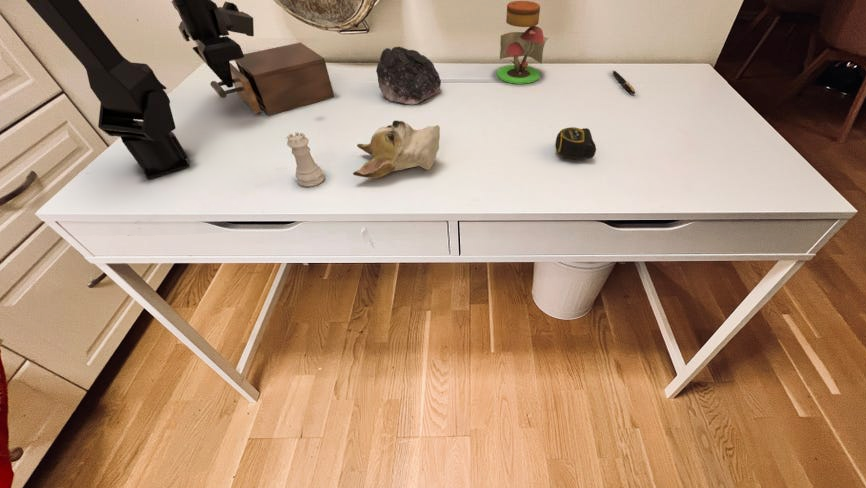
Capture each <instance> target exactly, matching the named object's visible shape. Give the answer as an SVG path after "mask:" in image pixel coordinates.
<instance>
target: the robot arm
mask: <svg viewBox="0 0 866 488" xmlns="http://www.w3.org/2000/svg"><path fill="white" fill-rule="evenodd" d="M25 1H26V2H27V4H28V5H30V7H31V8H32V9H33V10H34V12H35V13H36V14H37V15H38V16H39V17H40V18H41V19H42V21H44V23H45V24H46V25H47V26H48V27H49V28H50V30H51V31H52V32H53V33H54V34H55V35H56V36H57V37H58V39H59V40H60V41H61V42H62V43H63V44H64V45H65V46H66V48H67V49H68V50H69V51H70V52H71V53H72V54H73V56H74V57H75V58H76V59H77V60H78V61H79V63H80V64H81V65H82V66H83V67H84V69H85V72H86V75H87V80H88V83H89V88H90V89H91V91H92V92H93V94H94V95H95V96H96V98H97V99H98V101H99V102H100V107H99V116H98V122H97V123H98V125H97V126H98V128H99V129H100V130H101V131H102V132H103V133H105V134H107V135H108V136H109V137H119V138H120V139H121V142H122V143H123V145H124V146H125V147H126V149H127V150H128V152H129V153H130V154H131V156H132V157H133V159H134V160H135V161H136V163H137V165H139V167H140V169H141V170H142V173H143V175H144V177H145V178H146V179H147V180H152V179H155V178H158V177H161V176H165V175H167V174H171V173H174V172H177V171H180V170H183V169H187V168H189V167H190V164H189V162H188V159H189V156H188V154H187V152H186V150H185V149H184V148H183V146H182V145H181V143H180V141H179V140H178V138H177V136H176V134H175V133H174V130H176V128H177V127H176V124H175V120H174V116H173V113H172V112H173V111H172V108H171V105H170V104H171V100H170V97H169V96H168V94H167V92H166V91H165V90H167V87H166V86H165V85H164V84H162V82H161V81H160V79H158V77H157V76H156V74H155V72H154V71H153V69H152V68H151V67H150V66H149V64H147V63H140V62H131V61H129V60H128V59H127V58H126V57H124V56H123V55H122V53H120V51H119V50H118V49H117V47H116V46H115V45H114V43H113V42H112V41H111V39H110V38H109V37H108V36H107V34H106V33H105V32H104V30H103V29H102V28H101V26H99V24H98V22H96V20H95V19H94V18H93V16H92V15H91V14H90V12H89V11H88V10H87V9H86V8H85V6H84V5H83V4H82V3H81V1H80V0H25ZM171 4H172V6H173V8H174V9H175V10H176V11H177V13H178V15H179V17H180V19H181V21H180V23H179V25H178V30H179V32H180V34H181V36H182V38H183V40H184V41H185V42H190V39H191V40H192V41H193V42H194V43H195V46H193V47H192V50H193V51H194V52H195V53H196V54H197V56H198V57H200V59H201V60H202V61H203V62H204V64H206V66H208V68H209V69H210V70H211V72H213V73H214V74H215V75H216V76H217V78H219V80H220V82H223V83H224V84H225V85H224V86H226V88H228V89H230V88H233V87H234V84H233V80H232V74H231V68H230V63H231V61H235V60H236V59H241V58H243V57H244V54H245V53H244V52H243V50H242V47H241V45H240V44H239V43H238V42H237V41H235V40H234V39H232V38H231V37H229V36H230V33H229V32H232V33H237V34H243V35H246V36H247V37H254V36H255V31H254V17H253V16H252V15H250V14H249V13H246V12H244V11H240V9H239V7H238V6H237V4H235V3H234V2H230V1H224V3H223V4H222V6H219V7H218V4H217V3H216V2H214V1H213V0H171Z"/></svg>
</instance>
